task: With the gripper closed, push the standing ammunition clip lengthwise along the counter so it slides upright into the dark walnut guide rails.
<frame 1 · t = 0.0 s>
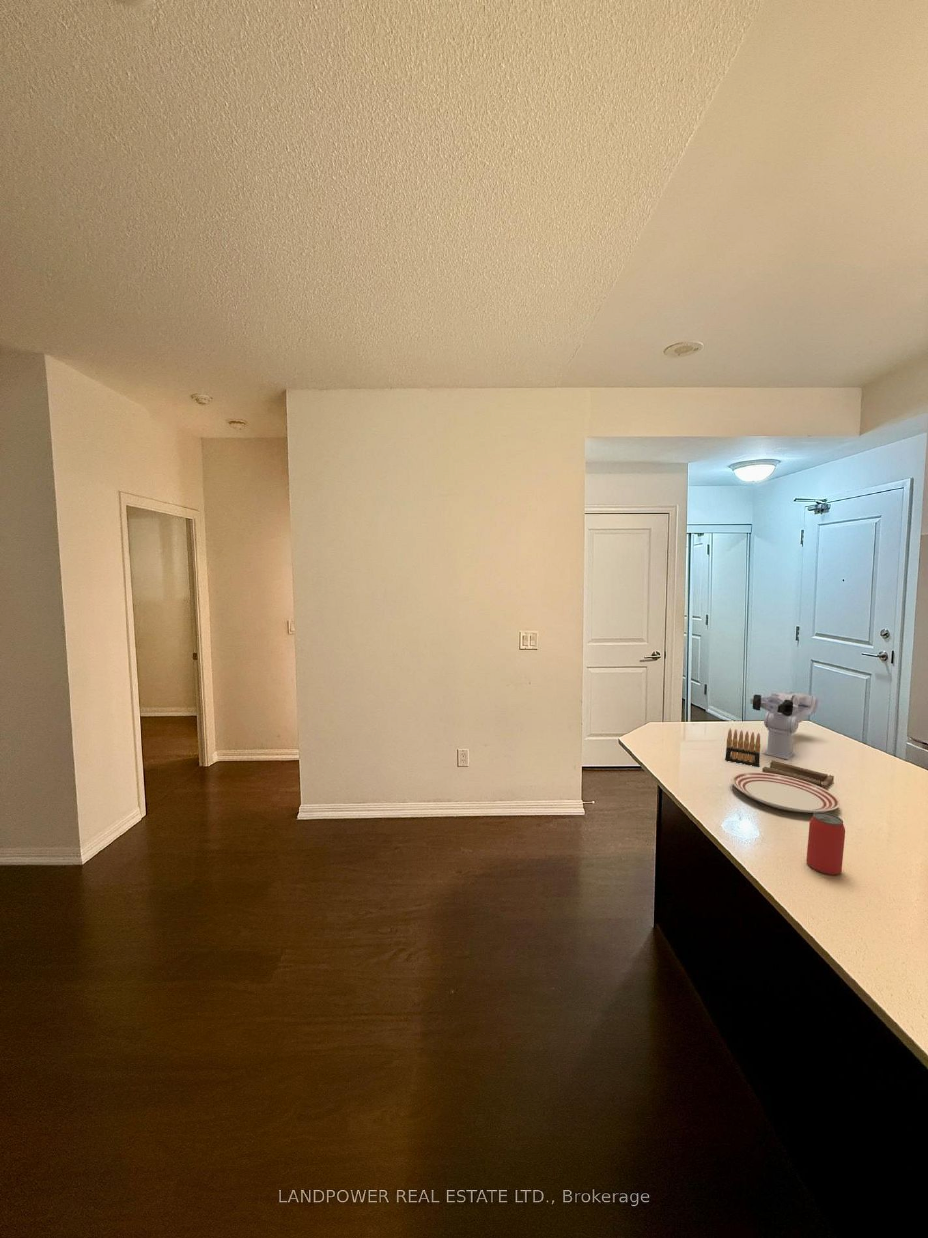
hand: (766, 706, 169), 22 cm above the table, tool horizontal, fingers open, 7 cm apart
beer can: (823, 868, 112), on the table
ammunition clip: (741, 763, 175), on the table
dinner plate: (782, 799, 148), on the table
guide rails: (794, 777, 163), on the table
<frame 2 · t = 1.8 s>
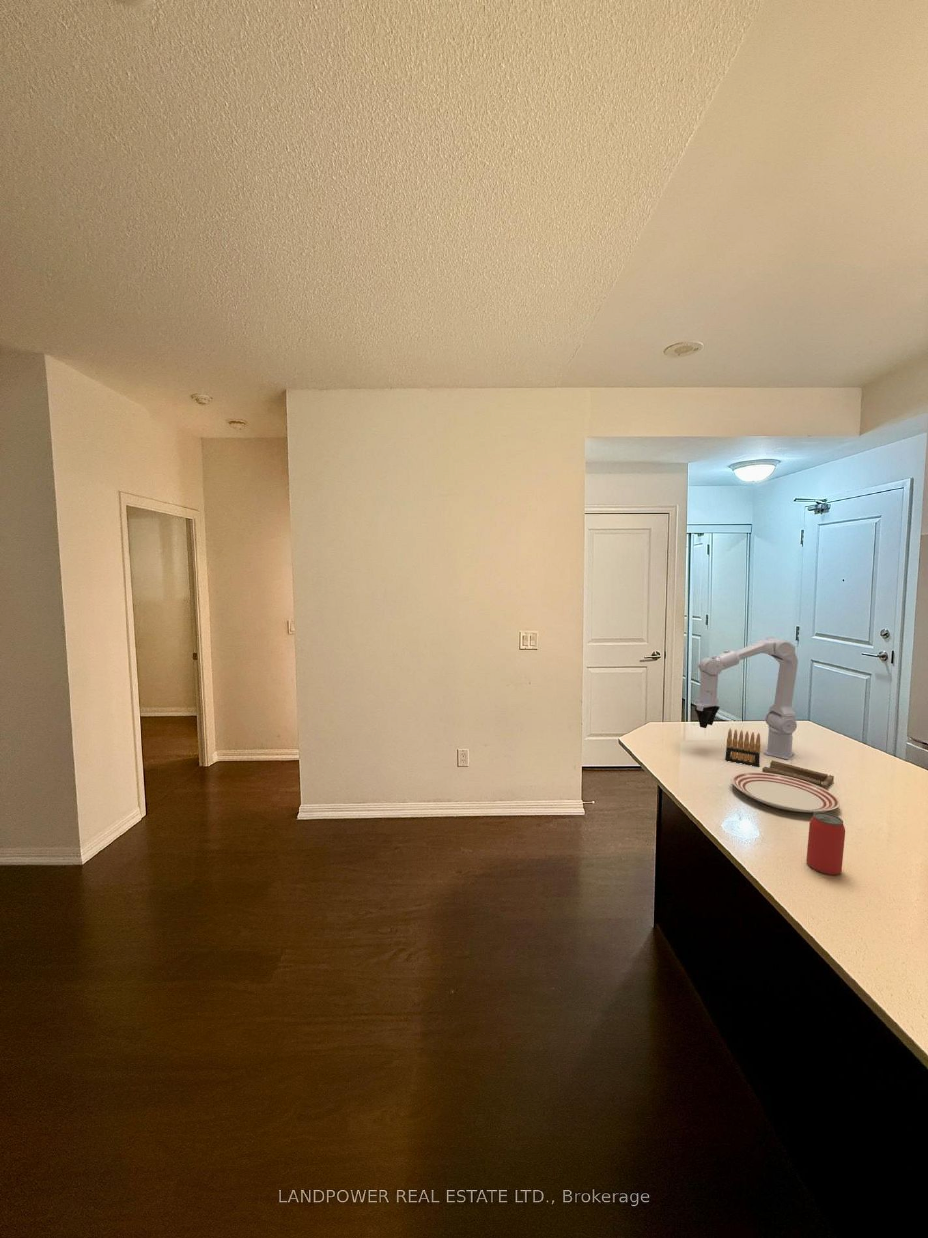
hand: (706, 726, 184), 10 cm above the table, tool pointing down, fingers open, 5 cm apart
nothing on the table moved.
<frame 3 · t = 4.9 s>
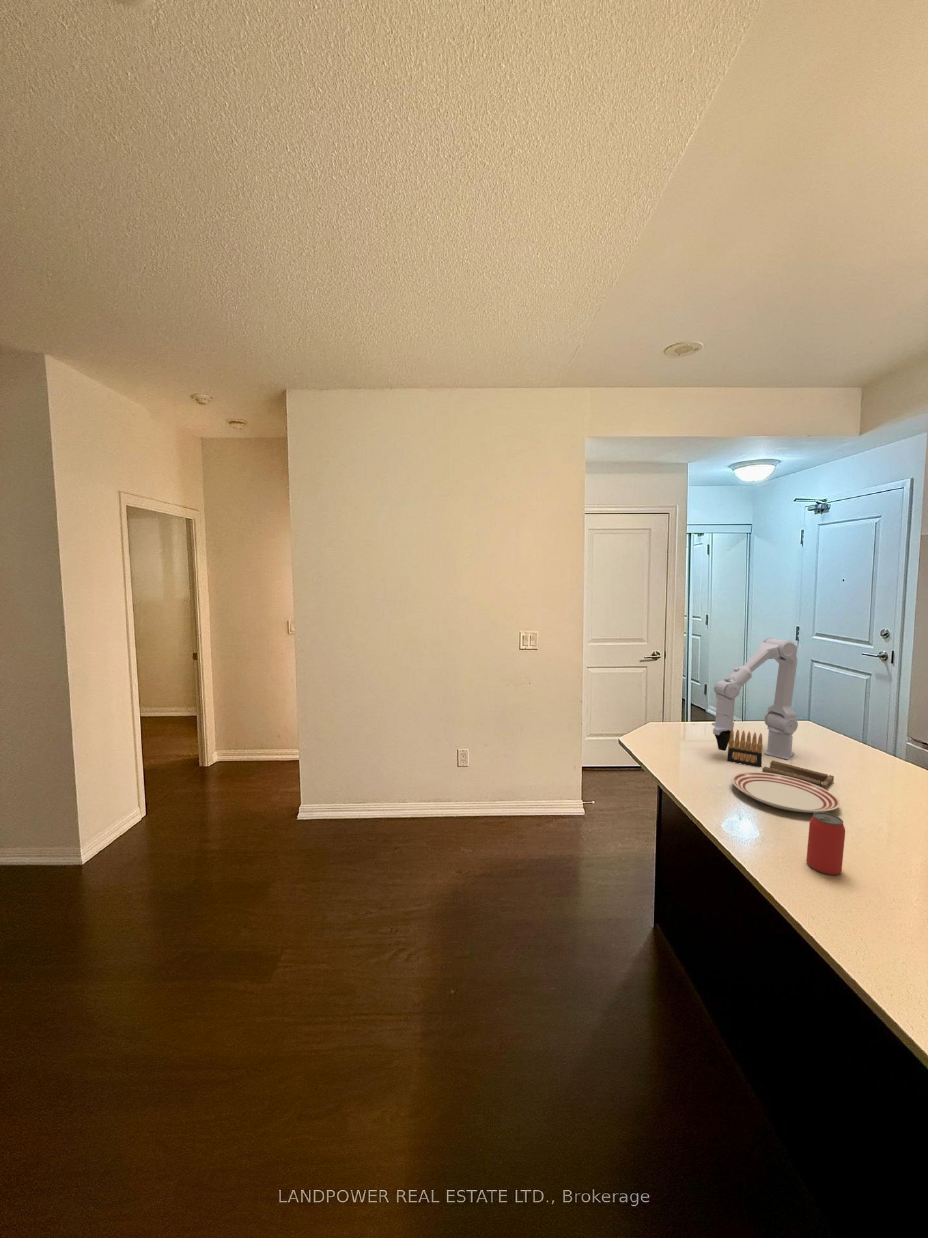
hand: (722, 749, 180), 3 cm above the table, tool pointing down, fingers closed
ammunition clip: (743, 764, 175), on the table, touching gripper
everything else where it was.
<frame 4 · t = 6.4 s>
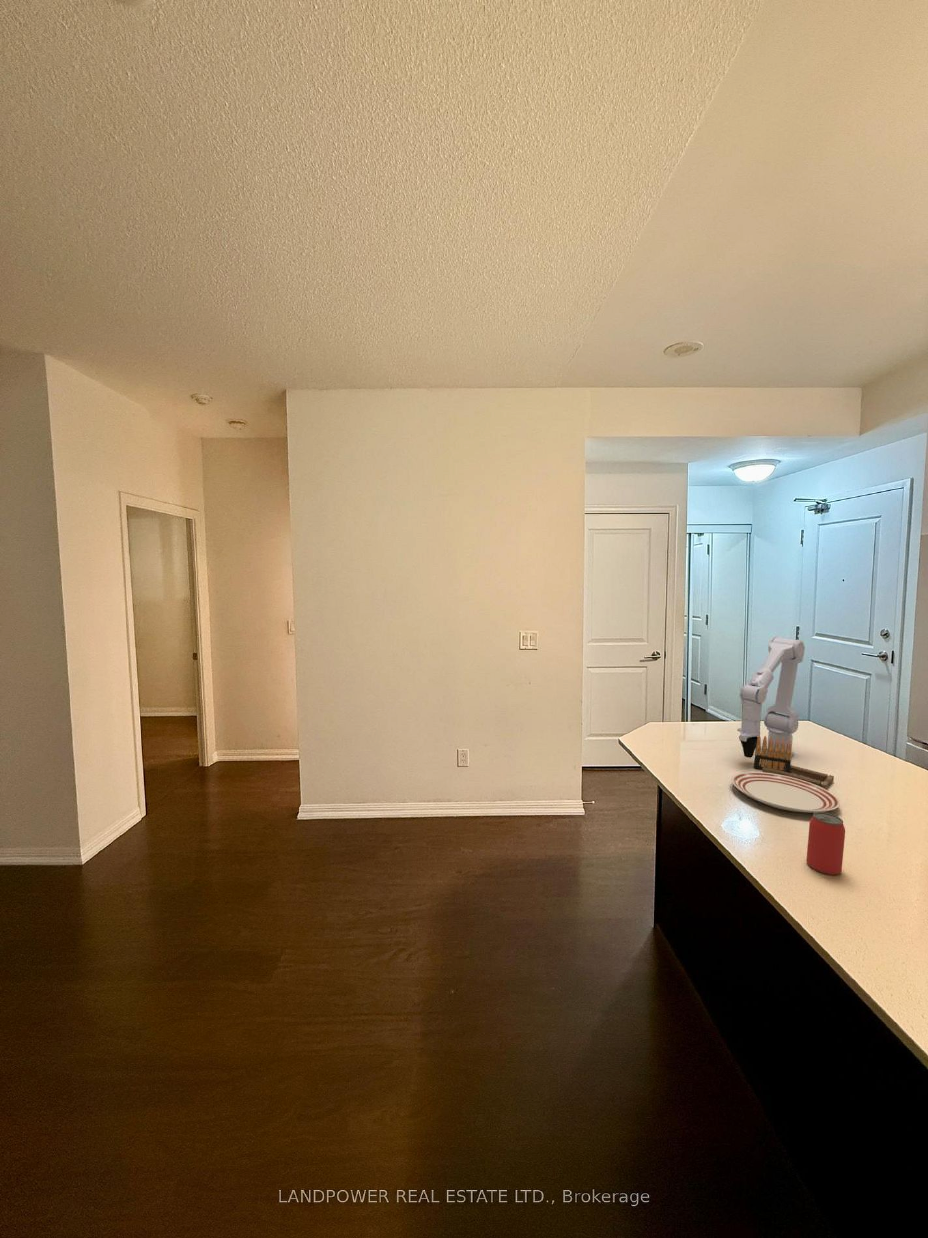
hand: (748, 756, 173), 3 cm above the table, tool pointing down, fingers closed
ammunition clip: (771, 771, 168), on the table, touching gripper
everything else where it was.
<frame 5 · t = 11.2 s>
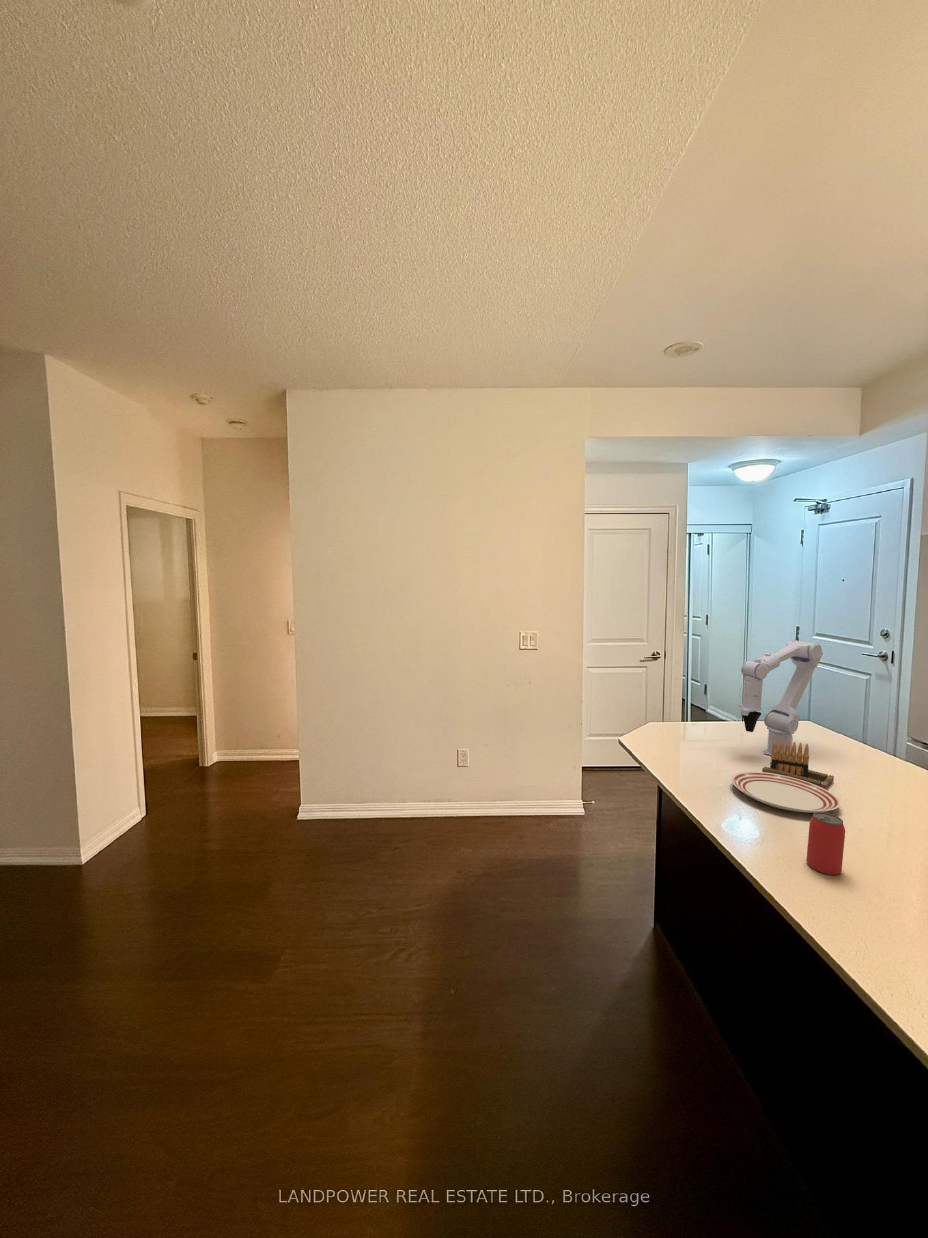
hand: (749, 731, 178), 10 cm above the table, tool pointing down, fingers closed
ammunition clip: (788, 776, 165), on the table
everything else where it was.
at the end: ammunition clip inside the target area on the guide rails (2.2 cm from its centre), point 0.0 cm above the guide rails's base; ammunition clip tilted 0°; ammunition clip moved 14.3 cm from its start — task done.
